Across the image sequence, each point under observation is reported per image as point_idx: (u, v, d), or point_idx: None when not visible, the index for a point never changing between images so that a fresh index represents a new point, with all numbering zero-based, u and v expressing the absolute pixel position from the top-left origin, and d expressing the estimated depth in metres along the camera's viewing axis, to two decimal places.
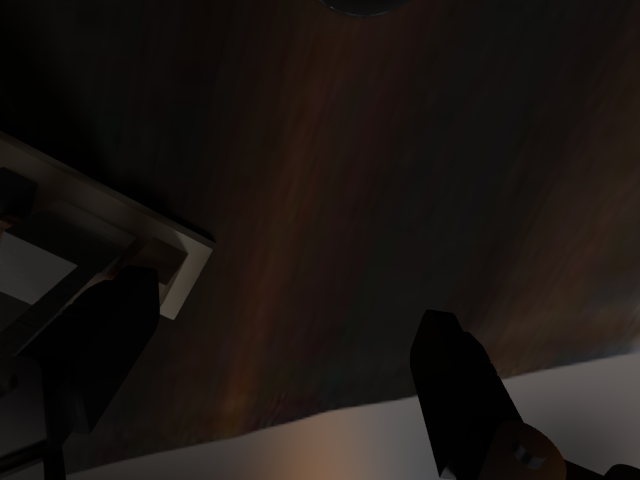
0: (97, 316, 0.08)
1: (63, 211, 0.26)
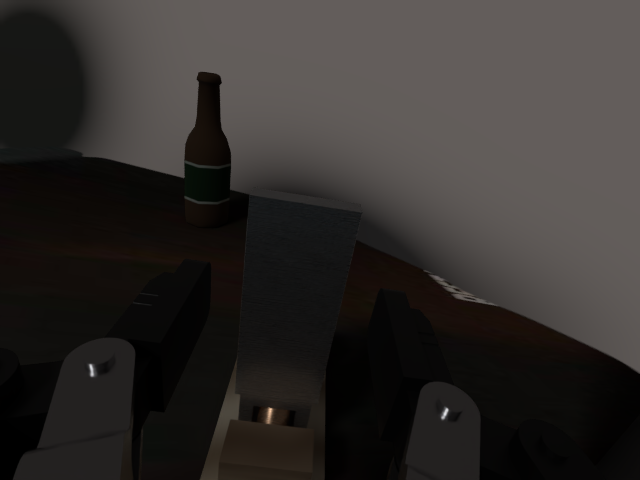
0: (170, 304, 0.09)
1: None
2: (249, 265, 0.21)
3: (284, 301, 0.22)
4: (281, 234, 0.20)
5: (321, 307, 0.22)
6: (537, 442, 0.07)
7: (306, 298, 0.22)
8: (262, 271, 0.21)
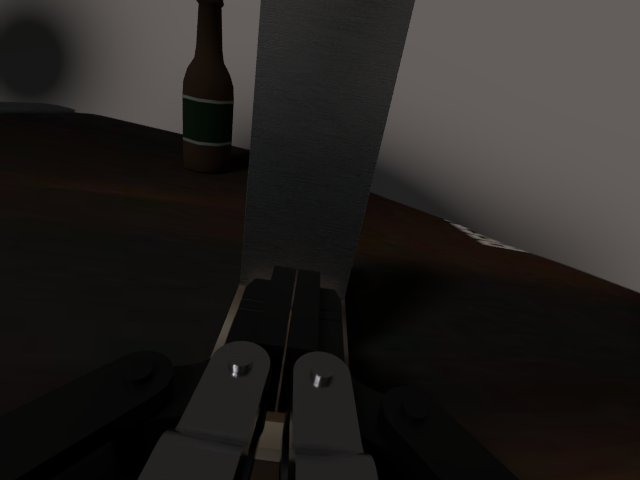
0: (278, 310, 0.09)
1: None
2: (262, 79, 0.16)
3: (307, 138, 0.17)
4: (306, 24, 0.15)
5: (355, 148, 0.17)
6: (399, 406, 0.07)
7: (336, 133, 0.17)
8: (279, 89, 0.16)
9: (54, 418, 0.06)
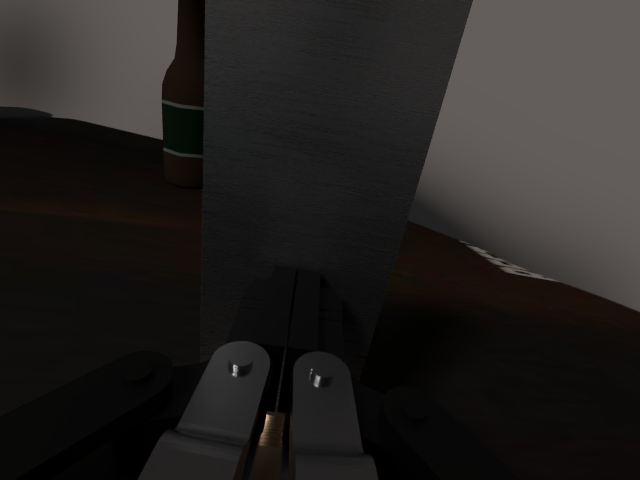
0: (279, 310, 0.09)
1: None
2: (216, 94, 0.09)
3: (294, 189, 0.10)
4: None
5: (372, 204, 0.10)
6: (399, 406, 0.07)
7: (341, 181, 0.10)
8: (245, 111, 0.09)
9: (54, 418, 0.06)
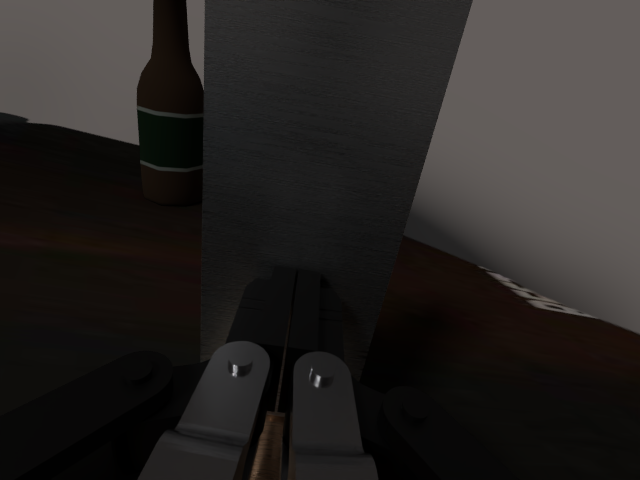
0: (278, 310, 0.09)
1: None
2: (216, 94, 0.09)
3: (294, 189, 0.10)
4: None
5: (372, 204, 0.10)
6: (399, 406, 0.07)
7: (341, 181, 0.10)
8: (245, 111, 0.09)
9: (54, 418, 0.06)
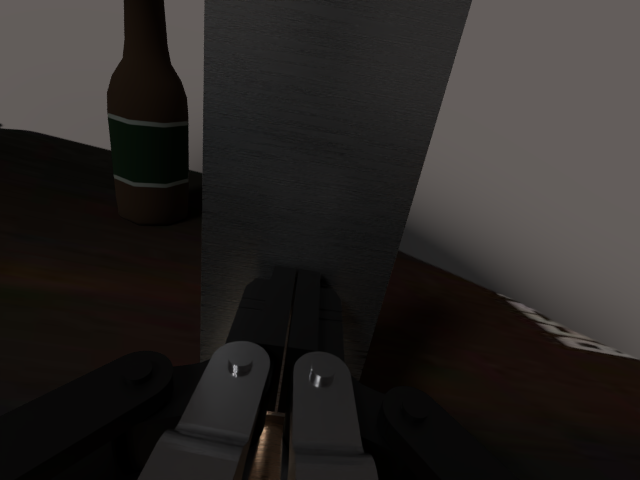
0: (278, 310, 0.09)
1: None
2: (215, 95, 0.09)
3: (294, 189, 0.10)
4: None
5: (371, 203, 0.10)
6: (400, 406, 0.07)
7: (340, 181, 0.10)
8: (245, 111, 0.09)
9: (54, 418, 0.06)
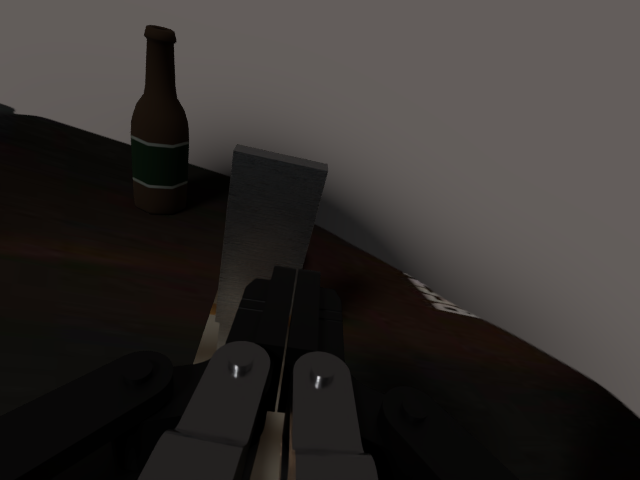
0: (278, 310, 0.09)
1: None
2: (231, 212, 0.24)
3: (260, 243, 0.26)
4: (259, 186, 0.23)
5: (291, 250, 0.26)
6: (399, 406, 0.07)
7: (278, 241, 0.26)
8: (242, 217, 0.25)
9: (54, 418, 0.06)
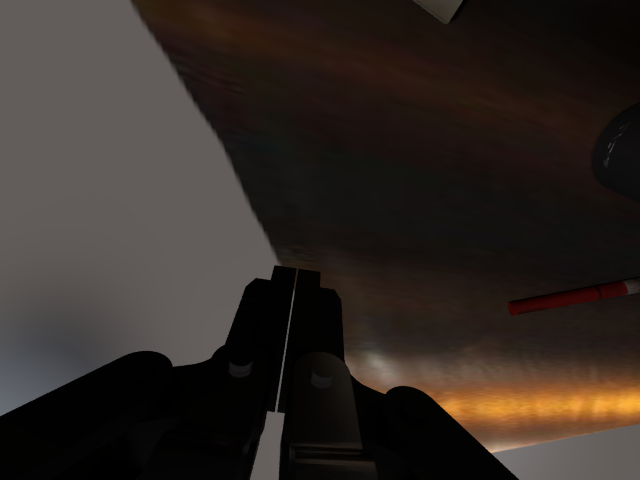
0: (279, 310, 0.09)
1: None
2: None
3: None
4: None
5: None
6: (399, 406, 0.07)
7: None
8: None
9: (55, 418, 0.06)
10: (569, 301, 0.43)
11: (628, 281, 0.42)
